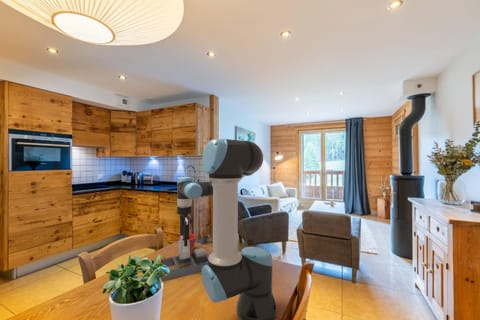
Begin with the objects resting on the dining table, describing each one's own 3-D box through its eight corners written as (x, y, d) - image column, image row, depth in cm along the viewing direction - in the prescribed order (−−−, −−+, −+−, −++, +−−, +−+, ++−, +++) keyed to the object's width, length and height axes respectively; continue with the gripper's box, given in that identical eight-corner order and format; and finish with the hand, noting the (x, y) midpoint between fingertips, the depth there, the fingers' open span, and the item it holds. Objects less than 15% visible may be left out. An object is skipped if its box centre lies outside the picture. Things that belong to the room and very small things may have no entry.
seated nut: (205, 266, 114) (205, 251, 114) (196, 268, 112) (196, 253, 112) (202, 262, 118) (203, 248, 118) (194, 264, 116) (194, 249, 116)
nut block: (189, 257, 110) (189, 242, 110) (180, 259, 108) (180, 244, 108) (187, 254, 114) (187, 239, 115) (178, 255, 112) (178, 240, 112)
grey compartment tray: (212, 269, 110) (212, 261, 110) (158, 282, 98) (158, 273, 98) (204, 257, 124) (204, 250, 124) (155, 267, 112) (155, 260, 112)
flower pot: (175, 256, 125) (175, 239, 125) (181, 248, 136) (181, 233, 136) (193, 256, 125) (193, 240, 125) (197, 248, 136) (197, 233, 136)
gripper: (195, 208, 105) (195, 255, 105) (187, 202, 121) (187, 242, 121) (180, 210, 101) (180, 258, 101) (174, 203, 118) (174, 244, 118)
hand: (184, 249), depth 111 cm, fingers closed on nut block, 5 cm apart
